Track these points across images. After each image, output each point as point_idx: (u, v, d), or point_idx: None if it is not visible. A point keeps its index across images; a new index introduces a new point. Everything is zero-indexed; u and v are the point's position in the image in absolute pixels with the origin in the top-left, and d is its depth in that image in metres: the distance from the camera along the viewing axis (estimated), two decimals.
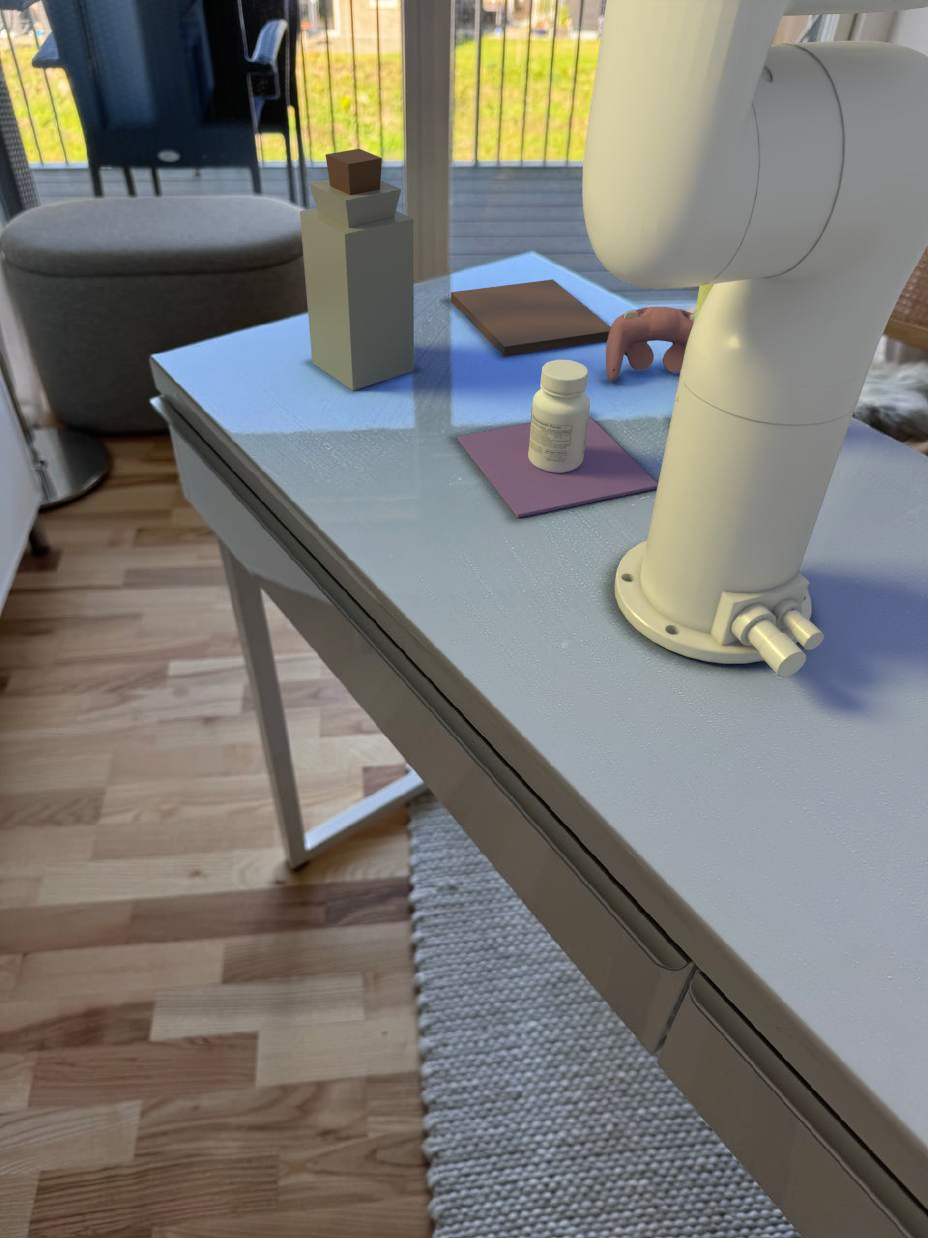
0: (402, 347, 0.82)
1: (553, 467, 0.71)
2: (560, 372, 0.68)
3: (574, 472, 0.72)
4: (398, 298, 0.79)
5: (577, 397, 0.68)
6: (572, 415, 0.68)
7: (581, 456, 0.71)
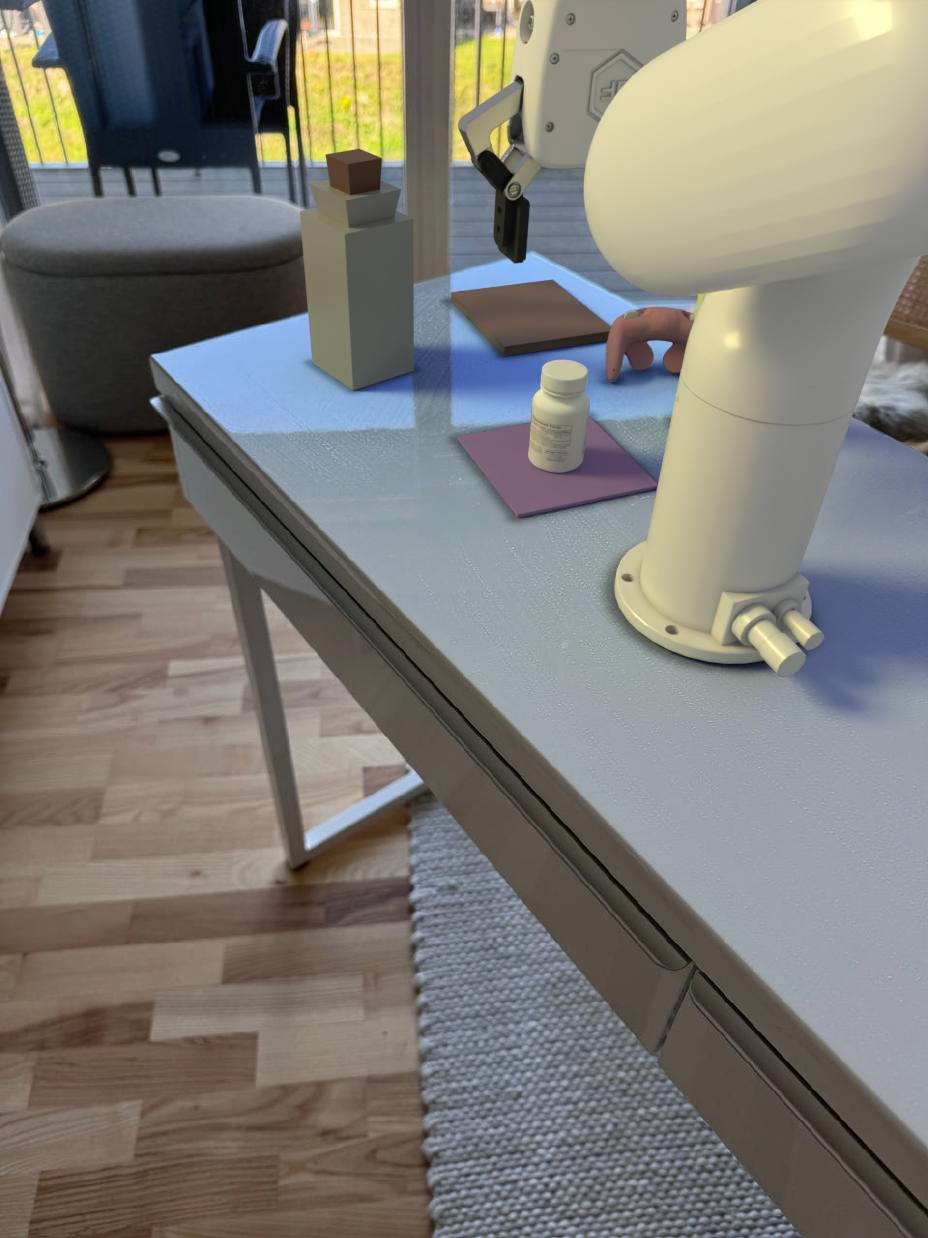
0: (402, 347, 0.82)
1: (553, 467, 0.71)
2: (560, 372, 0.68)
3: (574, 472, 0.72)
4: (398, 298, 0.79)
5: (577, 397, 0.68)
6: (572, 415, 0.68)
7: (581, 456, 0.71)
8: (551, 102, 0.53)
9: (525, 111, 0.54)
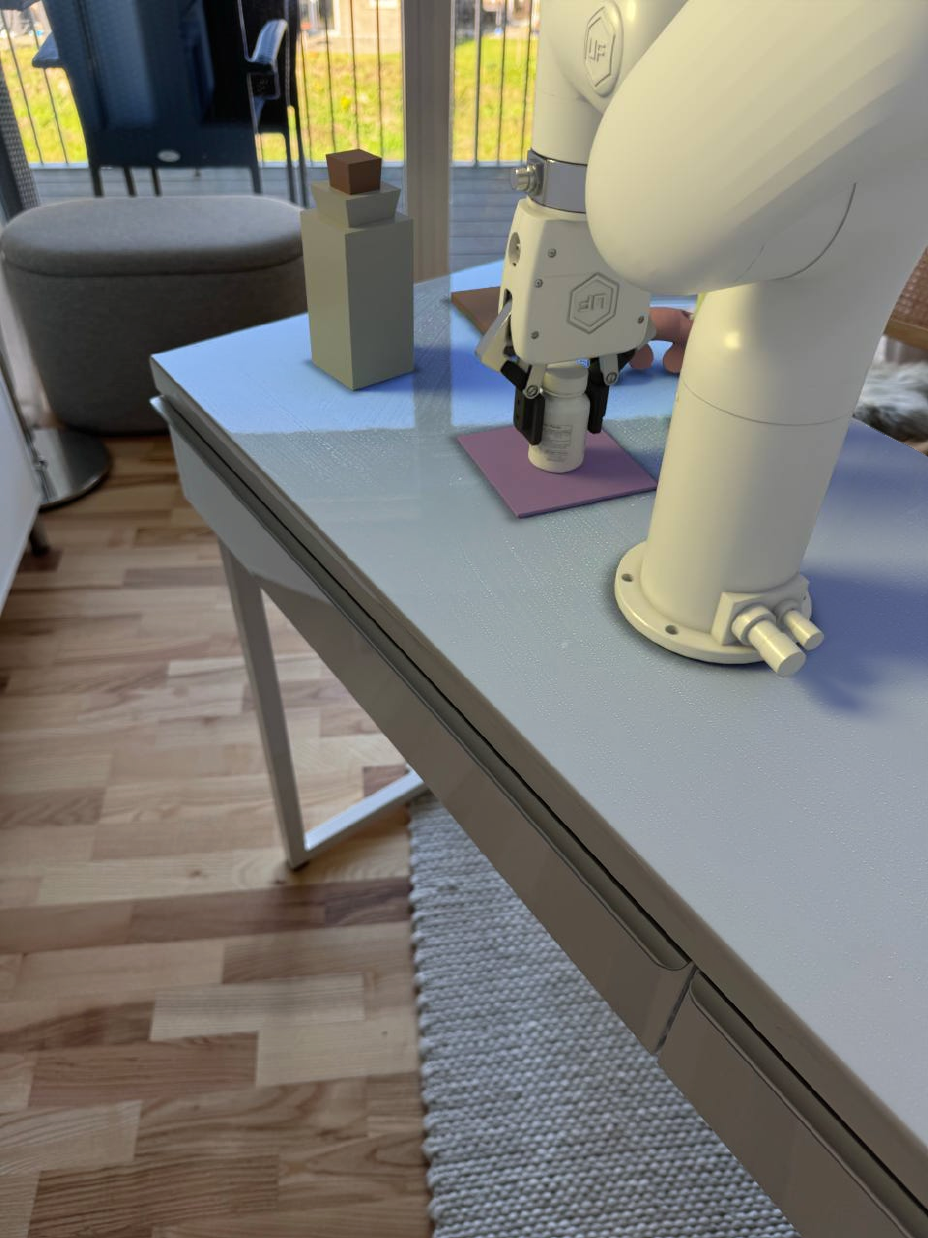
0: (402, 347, 0.82)
1: (553, 467, 0.71)
2: (560, 372, 0.68)
3: (574, 472, 0.72)
4: (398, 298, 0.79)
5: (577, 397, 0.68)
6: (572, 415, 0.68)
7: (581, 456, 0.71)
8: (536, 316, 0.61)
9: (514, 320, 0.62)
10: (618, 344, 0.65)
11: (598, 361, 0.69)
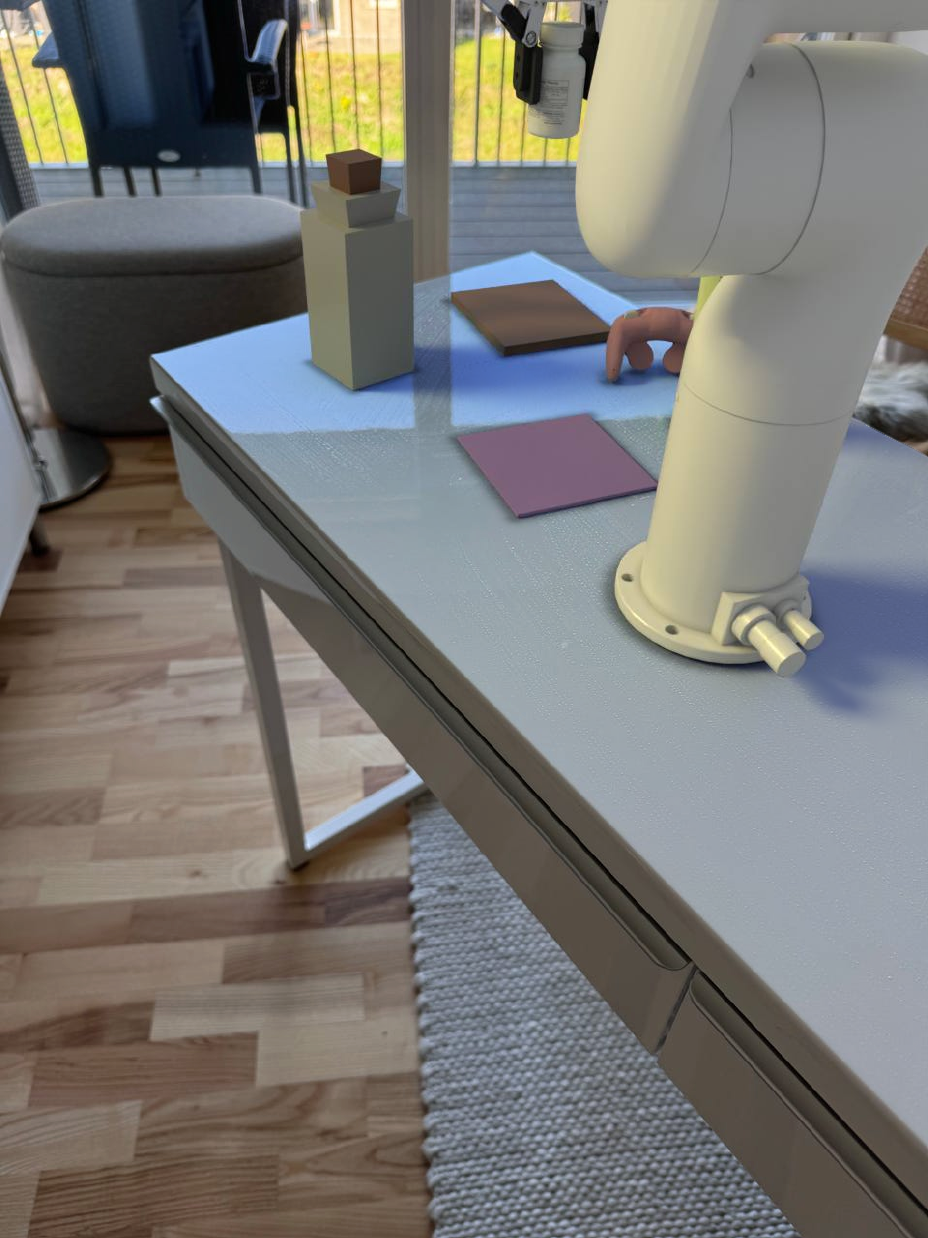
0: (402, 347, 0.82)
1: (550, 131, 0.75)
2: (557, 25, 0.71)
3: (574, 472, 0.72)
4: (398, 298, 0.79)
5: (573, 52, 0.72)
6: (569, 69, 0.72)
7: (577, 123, 0.75)
8: None
9: None
10: None
11: (593, 22, 0.73)
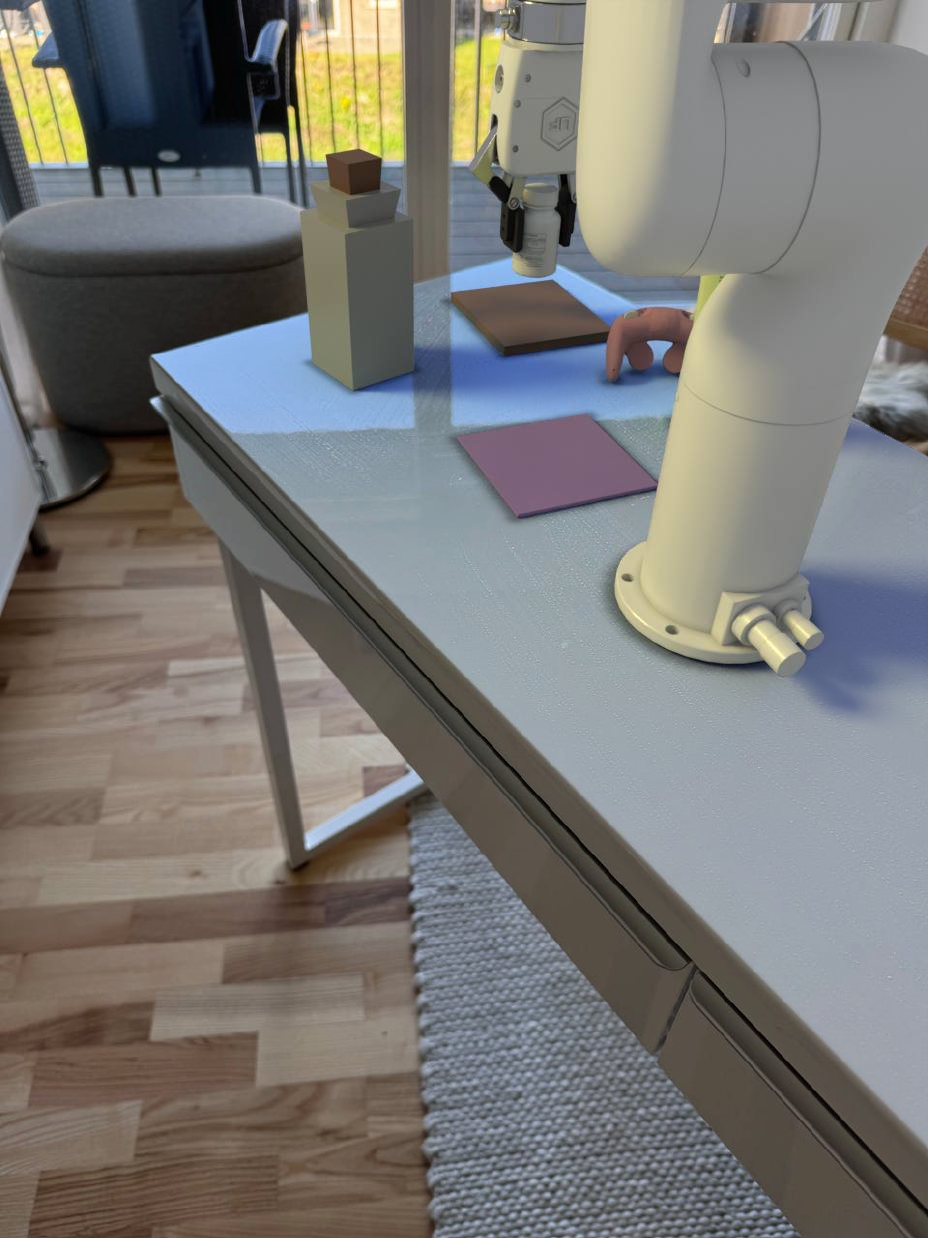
0: (402, 347, 0.82)
1: (531, 272, 0.89)
2: (536, 189, 0.85)
3: (574, 472, 0.72)
4: (398, 298, 0.79)
5: (550, 210, 0.86)
6: (546, 224, 0.86)
7: (554, 264, 0.89)
8: (516, 132, 0.79)
9: (499, 138, 0.80)
10: None
11: (567, 184, 0.87)
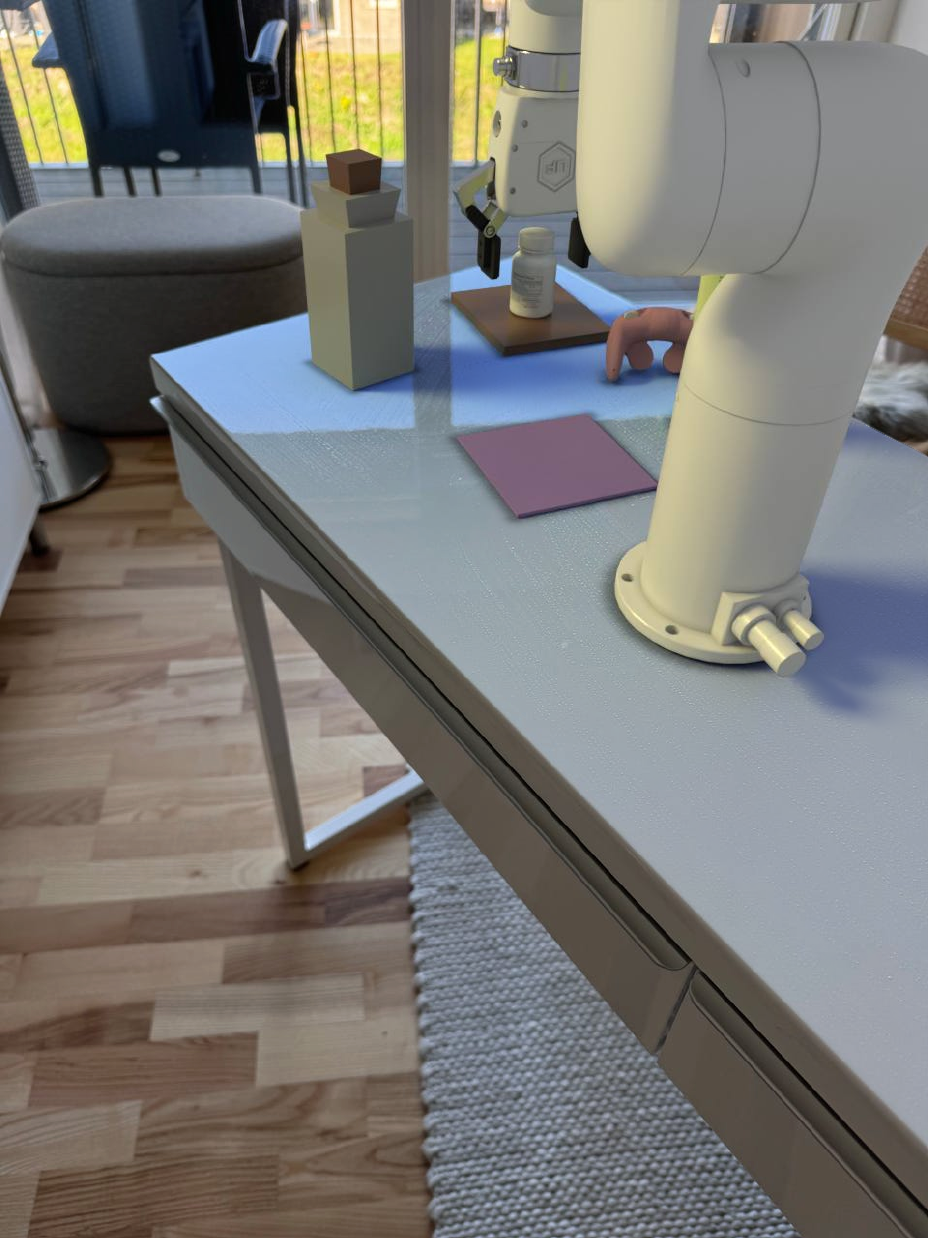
0: (402, 347, 0.82)
1: (528, 313, 0.91)
2: (533, 234, 0.88)
3: (574, 472, 0.72)
4: (398, 298, 0.79)
5: (546, 254, 0.89)
6: (542, 268, 0.89)
7: (550, 305, 0.92)
8: (513, 175, 0.81)
9: (496, 180, 0.82)
10: (577, 203, 0.85)
11: None
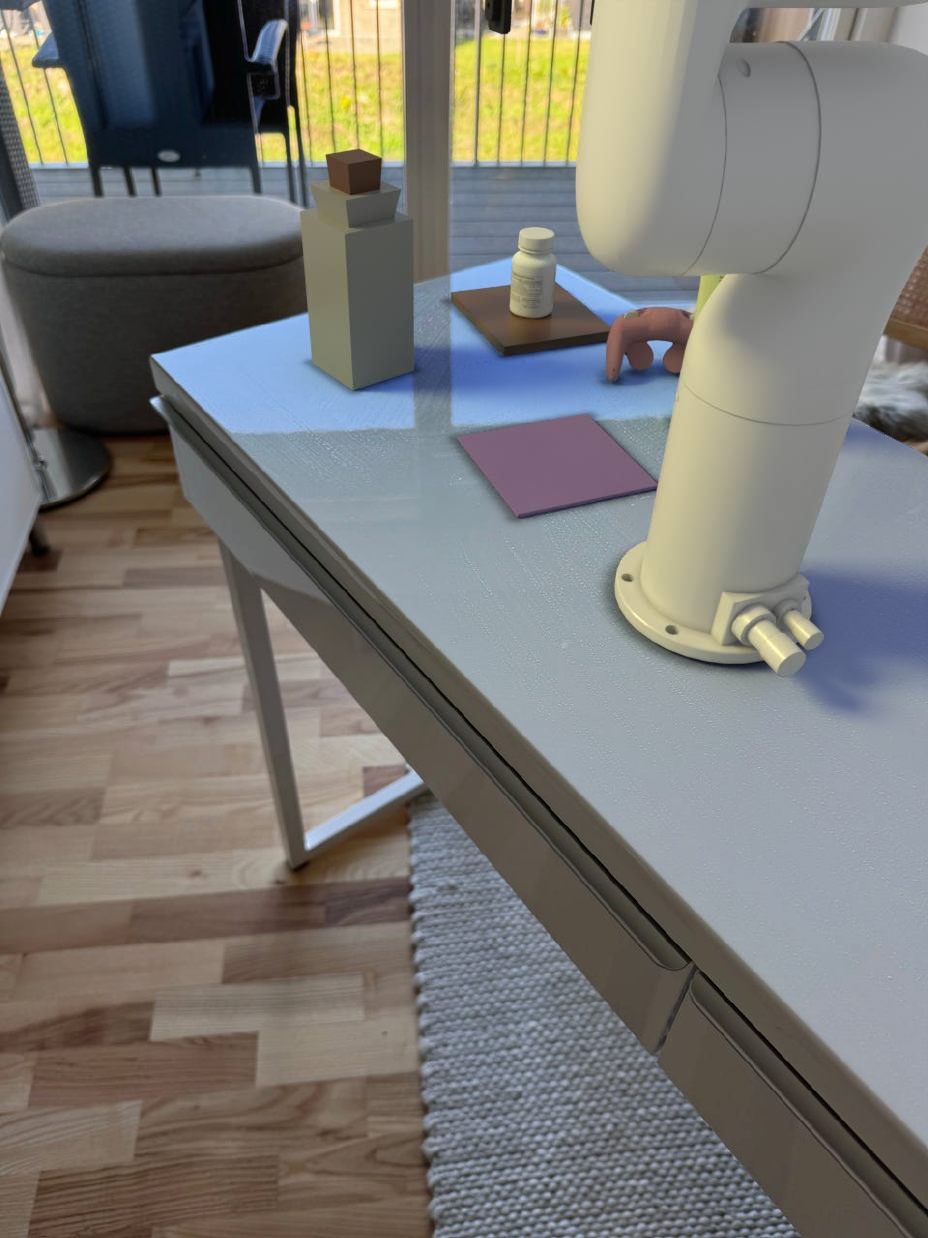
0: (402, 347, 0.82)
1: (528, 313, 0.91)
2: (533, 234, 0.88)
3: (574, 472, 0.72)
4: (398, 298, 0.79)
5: (546, 254, 0.89)
6: (542, 268, 0.89)
7: (550, 305, 0.92)
8: None
9: None
10: None
11: None
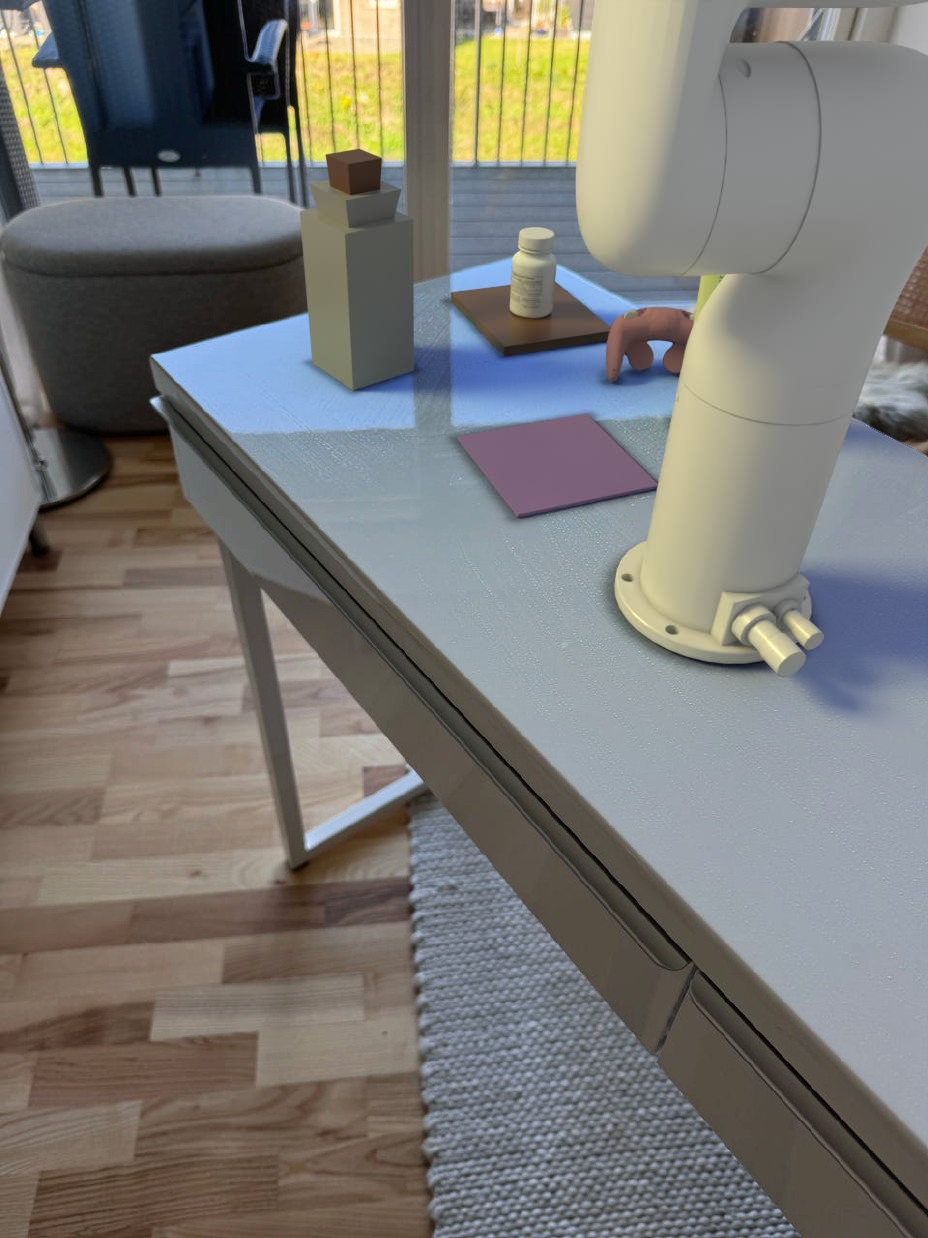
0: (402, 347, 0.82)
1: (528, 313, 0.91)
2: (533, 234, 0.88)
3: (574, 472, 0.72)
4: (398, 298, 0.79)
5: (546, 254, 0.89)
6: (542, 268, 0.89)
7: (550, 305, 0.92)
8: None
9: None
10: None
11: None
